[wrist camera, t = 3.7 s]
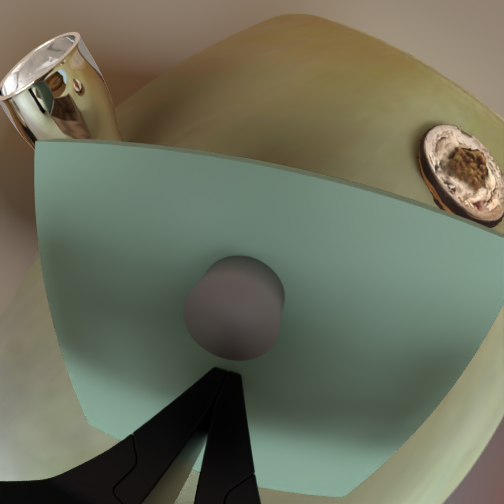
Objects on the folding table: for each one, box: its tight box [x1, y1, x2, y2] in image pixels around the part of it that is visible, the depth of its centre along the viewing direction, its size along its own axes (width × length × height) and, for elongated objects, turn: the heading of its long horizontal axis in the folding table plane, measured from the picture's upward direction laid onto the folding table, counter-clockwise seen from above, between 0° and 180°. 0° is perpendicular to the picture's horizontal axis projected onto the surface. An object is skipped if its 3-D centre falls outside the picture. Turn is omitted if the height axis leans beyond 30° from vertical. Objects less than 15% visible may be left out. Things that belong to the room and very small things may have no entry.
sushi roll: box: [417, 124, 504, 228], centre depth 23 cm, size 15×15×4 cm
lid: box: [35, 138, 504, 497], centre depth 8 cm, size 14×14×2 cm
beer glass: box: [0, 32, 124, 150], centre depth 18 cm, size 7×7×15 cm
